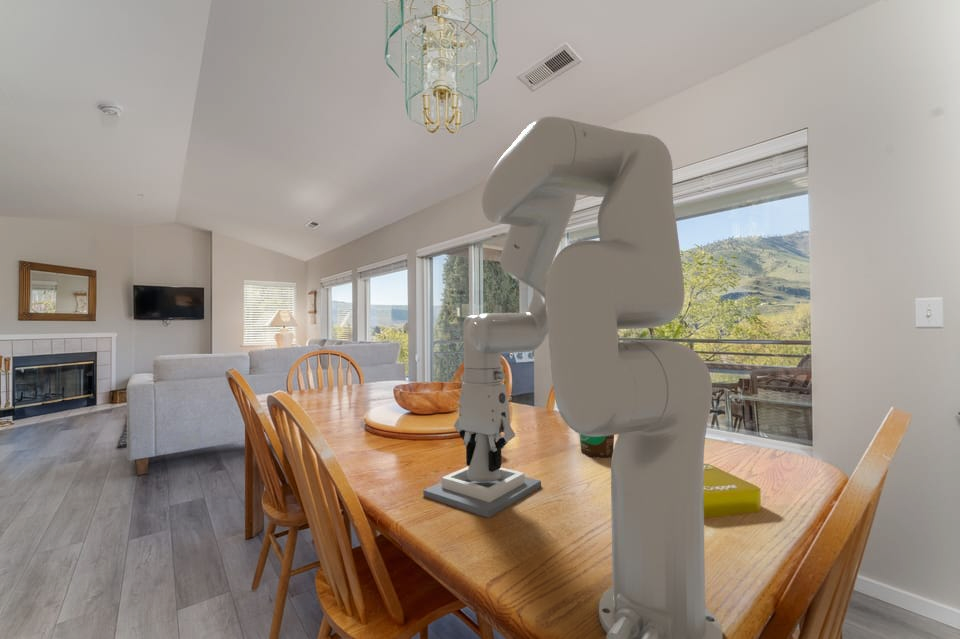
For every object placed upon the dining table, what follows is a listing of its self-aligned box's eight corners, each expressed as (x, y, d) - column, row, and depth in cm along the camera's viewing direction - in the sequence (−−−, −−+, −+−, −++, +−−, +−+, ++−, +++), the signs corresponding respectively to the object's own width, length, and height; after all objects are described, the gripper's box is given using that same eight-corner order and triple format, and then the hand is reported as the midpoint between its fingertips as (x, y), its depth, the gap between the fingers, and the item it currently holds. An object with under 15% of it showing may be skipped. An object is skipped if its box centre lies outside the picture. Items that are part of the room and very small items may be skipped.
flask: (498, 484, 83) (498, 432, 83) (462, 482, 84) (461, 431, 84) (504, 472, 90) (503, 423, 90) (470, 470, 91) (469, 422, 91)
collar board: (488, 518, 75) (488, 499, 75) (423, 496, 85) (423, 479, 85) (541, 486, 89) (540, 470, 89) (480, 470, 99) (479, 456, 99)
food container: (566, 449, 115) (566, 411, 115) (585, 446, 118) (584, 409, 118) (597, 462, 104) (596, 420, 104) (617, 458, 107) (616, 418, 107)
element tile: (690, 521, 74) (690, 493, 74) (642, 488, 89) (642, 465, 89) (766, 513, 76) (766, 486, 76) (707, 483, 91) (707, 460, 91)
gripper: (528, 377, 85) (529, 470, 85) (462, 372, 95) (463, 454, 95) (506, 381, 79) (508, 481, 79) (438, 375, 89) (439, 463, 89)
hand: (483, 465), depth 87 cm, fingers closed on flask, 5 cm apart
